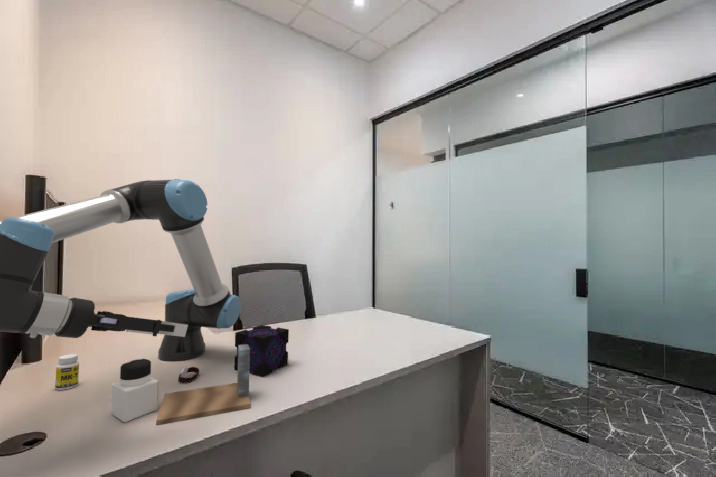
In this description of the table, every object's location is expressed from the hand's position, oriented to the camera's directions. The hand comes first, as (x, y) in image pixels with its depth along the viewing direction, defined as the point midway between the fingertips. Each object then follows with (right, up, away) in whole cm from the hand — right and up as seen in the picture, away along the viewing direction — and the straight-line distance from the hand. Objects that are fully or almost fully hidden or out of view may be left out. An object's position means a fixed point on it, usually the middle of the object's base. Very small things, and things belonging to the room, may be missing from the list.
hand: (170, 330), depth 79 cm
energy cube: (+14, -20, +27) cm, 37 cm away
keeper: (+7, -19, +3) cm, 21 cm away
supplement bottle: (-35, -19, +10) cm, 41 cm away
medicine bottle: (-7, -19, -2) cm, 21 cm away
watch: (-5, -20, +17) cm, 27 cm away
